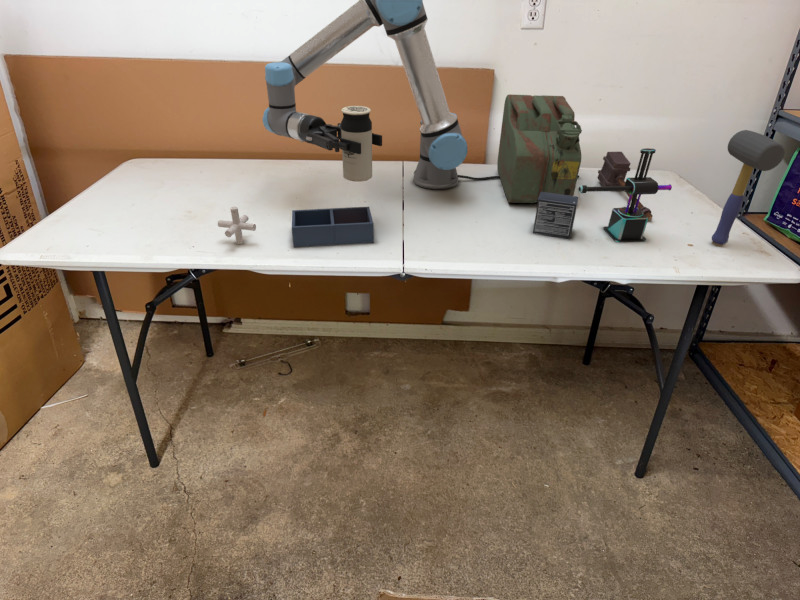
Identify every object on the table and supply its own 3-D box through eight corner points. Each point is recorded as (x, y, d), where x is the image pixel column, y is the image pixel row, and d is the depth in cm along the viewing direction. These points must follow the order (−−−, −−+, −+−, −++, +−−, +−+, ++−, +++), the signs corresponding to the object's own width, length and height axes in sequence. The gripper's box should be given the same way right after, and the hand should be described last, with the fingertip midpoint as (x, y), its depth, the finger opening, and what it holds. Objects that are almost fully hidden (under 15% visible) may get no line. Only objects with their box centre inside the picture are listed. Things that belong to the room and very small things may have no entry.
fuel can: (508, 207, 163) (521, 118, 148) (496, 168, 192) (505, 91, 177) (570, 209, 162) (590, 120, 147) (548, 170, 191) (562, 92, 176)
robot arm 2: (641, 226, 153) (667, 143, 139) (657, 241, 145) (686, 154, 132) (559, 229, 150) (576, 144, 137) (571, 243, 143) (590, 156, 129)
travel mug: (359, 169, 148) (357, 104, 138) (378, 177, 143) (378, 109, 133) (337, 176, 143) (334, 108, 133) (356, 184, 138) (354, 115, 128)
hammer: (614, 176, 183) (623, 150, 175) (653, 234, 160) (666, 207, 153) (595, 177, 182) (604, 151, 175) (632, 235, 159) (644, 207, 152)
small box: (571, 229, 150) (579, 195, 144) (570, 239, 145) (578, 204, 139) (534, 224, 153) (540, 190, 147) (531, 233, 148) (537, 198, 142)
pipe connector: (249, 253, 135) (243, 218, 130) (213, 249, 137) (206, 214, 131) (264, 236, 144) (260, 202, 138) (231, 232, 145) (225, 198, 140)
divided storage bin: (369, 225, 151) (369, 206, 147) (373, 242, 142) (373, 223, 138) (294, 229, 148) (292, 210, 144) (293, 247, 139) (291, 227, 135)
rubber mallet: (692, 234, 149) (730, 127, 132) (717, 233, 150) (758, 127, 133) (718, 255, 139) (763, 142, 122) (744, 254, 139) (793, 142, 123)
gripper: (333, 133, 156) (394, 149, 144) (281, 150, 141) (344, 169, 130) (332, 107, 151) (395, 121, 140) (278, 122, 137) (343, 139, 126)
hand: (370, 144), depth 135 cm, fingers closed on travel mug, 8 cm apart
